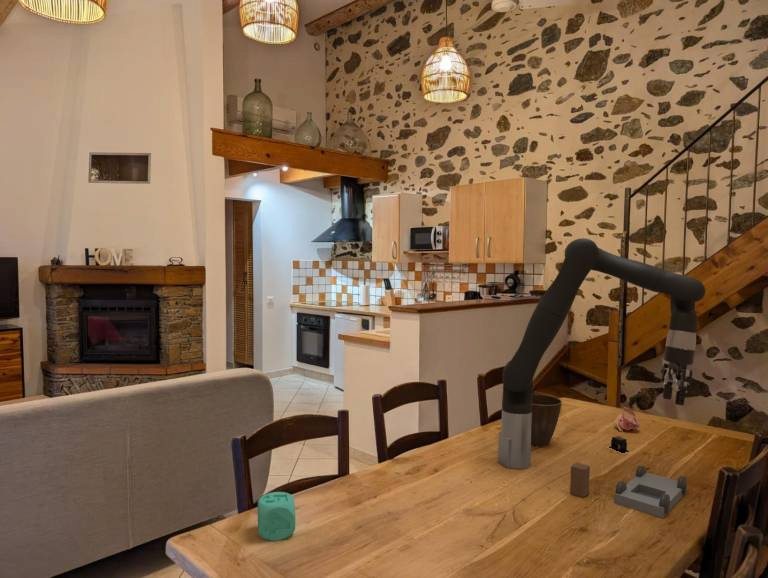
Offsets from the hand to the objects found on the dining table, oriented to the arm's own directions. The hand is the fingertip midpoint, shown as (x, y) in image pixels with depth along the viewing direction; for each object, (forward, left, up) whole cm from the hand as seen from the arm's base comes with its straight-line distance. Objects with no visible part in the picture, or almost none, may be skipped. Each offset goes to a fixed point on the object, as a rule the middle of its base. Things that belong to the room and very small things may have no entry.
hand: (672, 401), depth 154 cm
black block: (+6, +28, -25) cm, 38 cm away
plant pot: (-18, +40, -24) cm, 50 cm away
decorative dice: (-113, +1, -24) cm, 116 cm away
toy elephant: (+25, +45, -24) cm, 57 cm away
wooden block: (-30, +1, -24) cm, 39 cm away
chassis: (-12, -6, -24) cm, 28 cm away
